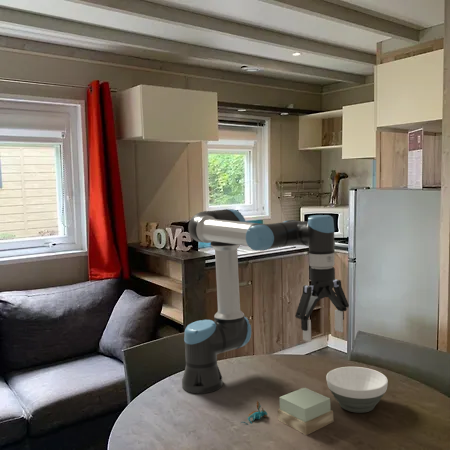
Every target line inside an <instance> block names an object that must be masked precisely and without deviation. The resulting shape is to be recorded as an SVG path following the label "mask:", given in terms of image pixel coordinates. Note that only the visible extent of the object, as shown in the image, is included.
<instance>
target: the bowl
mask: <svg viewBox="0 0 450 450" xmlns="http://www.w3.org/2000/svg"><path fill="white" fill-rule="evenodd" d="M325 378H326V384H327V388H328V389H329V390H330V393H331V394H332V396H333V397H334V399H335V400H336V401H337V402H338V404H339V405H340V407H341V408H342V409H343V410H345V411H348V412H351V413H358V414H365V413H368V412H369V413H370V412H372V411H373V410H374V409H375V407H376V405H378V403H379V402H380V401H381V399H382V397H383V396H384V395H385V394H386V392H387V389H388V385H389V384H388V383H389V382H388V381H389V380H388V378H387V376H386V375H385V374H383V373H382V372H380V371H378V370H375V369H372V368H368V367H362V366H342V367H337V368H334V369H331V370H330V371H328V372H327V374H326V376H325Z"/></svg>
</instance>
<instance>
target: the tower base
mask: <svg viewBox="0 0 450 450" xmlns="http://www.w3.org/2000/svg"><path fill="white" fill-rule="evenodd" d="M277 419H278V421H279V422H281V423H282V424H285V425H286V426H288V427H289V428H292V429H293V430H296V431H297V432H300V433H301V434H303V435H305V436H307V435H310V434H312V433H314V432H316V431H317V430H320V429H322V428H325V427H326V426H328V425H330V424H332V423H334V410H331V409H330V411H329V412H327V413H325V414H323V415H321V416H318V417H316V418H314V419H312V420H309V421H307V422H304V421H302V420H300V419H298V418H296V417H294V416H292V415H290V414H288V413H286V412H284V411H282V410H280V408H278V409H277Z"/></svg>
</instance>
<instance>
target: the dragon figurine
mask: <svg viewBox="0 0 450 450" xmlns="http://www.w3.org/2000/svg"><path fill="white" fill-rule="evenodd" d="M260 408H261V409H260ZM256 409H257V410H253V411H252V412H250V413H248V415H247V420H248V422H249V424H251V425H252V424H253V423H252V421H253V422H255V419H256V420H261V418H262V417H263V418H267V417H268V413H267V411H266V410H265V409H264V408H263V407H262V405H261V404H260V403H259V400H257V401H256ZM251 419H252V421H251ZM248 422H246V421H240V424H242V423H244V424H246V426H247V425H248V426H249V424H248Z"/></svg>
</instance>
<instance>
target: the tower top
mask: <svg viewBox="0 0 450 450" xmlns="http://www.w3.org/2000/svg"><path fill="white" fill-rule="evenodd" d="M279 409H280V410H282V411H284V412H286V413H288V414H290V415H292V416H294V417H296V418H298V419H300V420H302V421H304V422H307V421H309V420H312V419H314V418H316V417H318V416H321V415H323V414H325V413H327V412H329V411H330V410H331V398H330V397H327V396H325V395H323V394H321V393H318V392H316V391H313V390H311V389H309V388H307V387H301V388H299V389H296V390H294V391H292V392H288V393H287V394H284V395H282V396H279Z"/></svg>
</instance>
